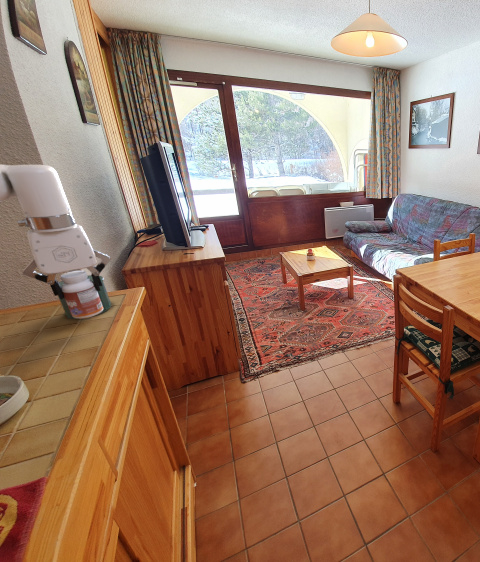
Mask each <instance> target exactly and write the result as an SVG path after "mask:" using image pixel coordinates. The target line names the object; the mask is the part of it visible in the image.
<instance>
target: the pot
mask: <svg viewBox="0 0 480 562" xmlns="http://www.w3.org/2000/svg"><path fill="white" fill-rule="evenodd" d="M102 285H103V286H99V287H100V290H101V291H97V292H98V295H99V297H100V300H101V303H102V305H103V311H102V312H101V313H99V314H97V315H96V316H98V315H100V314H103V313H105V312H107V311H108V310H110V309H111V308H112V302H111V299H110V297H109V294H108V291H107V288H106V285H105V282H104V281H103V282H102ZM57 298H58V299H59V302H60V305H61V307H62V309H63V311H64V313H65V315H66V317H67V318H68V319H70V320H72V319H73V320H80V319H82V318H74V317H73V316H72V314H71V312H70V310H69V307H68V305H67V302H66V300H65V298H63V299H60V298H59V295H57Z"/></svg>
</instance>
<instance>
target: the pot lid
mask: <svg viewBox="0 0 480 562" xmlns="http://www.w3.org/2000/svg"><path fill="white" fill-rule="evenodd" d="M73 271H81V269H79V270H73ZM68 272H72V271H68ZM99 277H100V280H101V282H103V283H104V280H105V279H104V277H103V276H102V275H99ZM87 279H90V280H92V281H93V279H92V276H91V274H89V275H88V274H87ZM58 282H59V284H60V287H61V286H62V285H63V284H64V282H62V280H61V281H58ZM93 282H94V281H93Z"/></svg>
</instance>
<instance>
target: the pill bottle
mask: <svg viewBox="0 0 480 562" xmlns="http://www.w3.org/2000/svg"><path fill="white" fill-rule="evenodd" d="M87 275H88V274H87V272H86V271H85V270H80V271H72V272H69V271H68V272H64V273H61V275H60V276H59V277H60V280H61V281H62V282H64V284H63V285H62V286H61V290H62V293H63V295H64V298H65V300H66V302H67V305H68V307H69V310H70V312H71V314H72V316H73V317H74V318H81V319H88V318H92V317H95V316H98V315H100V314H99V313H101V312H102V311H103V305H102V303H101V300H100V297H99V295H98V292H97V289H96V287H95V284H94V282H93V281H92V280H90V279H87ZM97 314H98V315H97ZM101 314H102V313H101Z"/></svg>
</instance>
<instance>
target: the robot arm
mask: <svg viewBox="0 0 480 562" xmlns="http://www.w3.org/2000/svg"><path fill="white" fill-rule="evenodd" d="M12 199H17V201H18V203H19V205H20V207H21V209H22V212H23V214H24V216H25V217H24V218H23V219H17V225H18V227H27V228H29V230H27V231H26V237H27V241H28V246H29V248H30V251H31V254H32V256H33V259H32V260H31V261H29V263H28V264H27V266H26V267H25V268H24V269H23V270H22V275H24V276H27V277H29V278H32V279H35V280H37V281H39V282H42V283H45V284H47V285H49V286H50V288H51V291H52V293H53V296H54V297H58V295H59V298H60V299H63V298H64V295H63V293H62V290H61V287H60V284H59V282H60V281H59V280H57V278H56V276H57V274H63V273H68V272H69V271H73V270H84V269H86V270H88V271H89V272H90V273H91V274H90V275H91V276H92V279H93V281H94V284H95V287H96V289H97V291H101V290H100V287H99V286H103V285H102V282H101V280H100V277H99V276H101V273H102V271H103V270H104V269H105V268H106V266H107V265H108V263H109V262H110V261H111V259H112V258H111V257H110V256H109V255H108V254H105V253H103V252H101V251H98V250H97V249H94V248H93V246H92V244H91V241H90V240H89V237H88V236H87V233H86V232H85V230H84V228H83V226H82V225H80V224H77V223H76V220H75V218H74V215H73V212H72V210H71V207H70V204H69V201H68V199H67V196H66V193H65V191H64V188H63V185H62V182H61V180H60V177H59V174H58V172H57V171H56V169H55V168H54V167H53V166H51V165H48V164H14V165H12V164H11V165H8V164H1V163H0V202H3V201H6V200H12ZM97 258H98V259H100V262H98V261H97ZM36 268H37V269H38V271H39V272H37V271H36V270H35V269H36ZM59 298H58V299H59Z"/></svg>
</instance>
